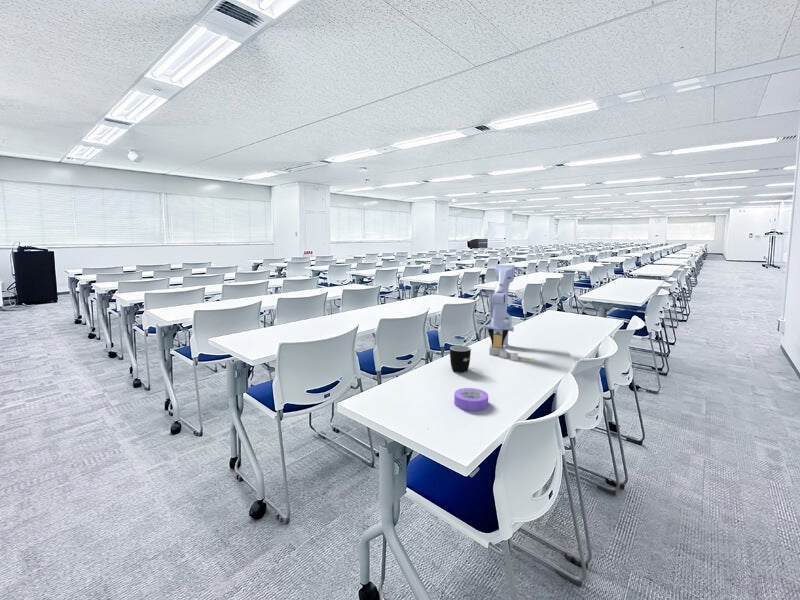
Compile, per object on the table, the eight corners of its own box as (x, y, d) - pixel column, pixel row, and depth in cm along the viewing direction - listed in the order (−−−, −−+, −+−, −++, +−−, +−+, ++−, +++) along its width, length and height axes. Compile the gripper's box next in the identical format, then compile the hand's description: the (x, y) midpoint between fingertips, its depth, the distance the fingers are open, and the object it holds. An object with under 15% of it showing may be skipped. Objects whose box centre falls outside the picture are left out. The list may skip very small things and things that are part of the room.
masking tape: (464, 394, 141) (464, 384, 140) (493, 403, 134) (494, 392, 133) (447, 405, 132) (447, 395, 131) (478, 415, 125) (478, 404, 124)
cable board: (489, 351, 193) (489, 343, 192) (535, 355, 186) (535, 346, 185) (487, 361, 177) (487, 352, 177) (537, 365, 171) (537, 356, 170)
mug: (463, 375, 160) (464, 352, 158) (445, 370, 166) (445, 348, 164) (477, 368, 169) (477, 346, 167) (459, 363, 175) (460, 342, 173)
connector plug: (493, 346, 188) (494, 330, 187) (501, 347, 187) (502, 331, 186) (493, 348, 185) (493, 332, 183) (501, 349, 184) (502, 333, 182)
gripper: (482, 318, 182) (481, 345, 184) (514, 320, 178) (512, 348, 180) (483, 315, 189) (483, 341, 191) (514, 317, 184) (513, 344, 187)
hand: (497, 344), depth 186 cm, fingers closed on connector plug, 4 cm apart
